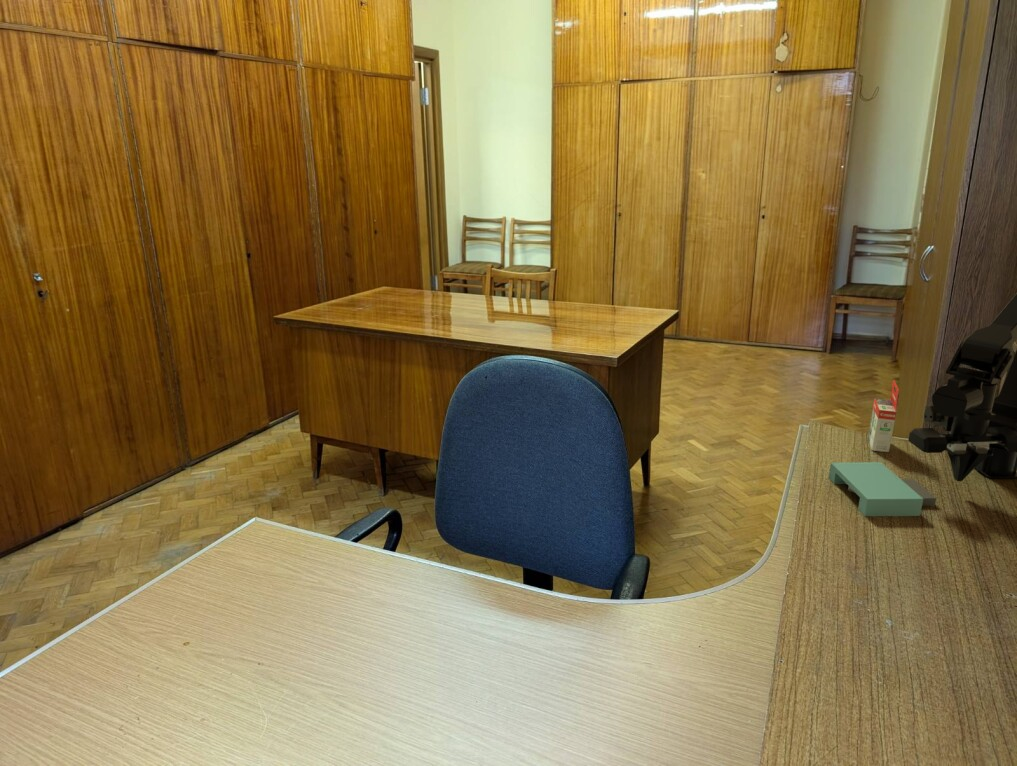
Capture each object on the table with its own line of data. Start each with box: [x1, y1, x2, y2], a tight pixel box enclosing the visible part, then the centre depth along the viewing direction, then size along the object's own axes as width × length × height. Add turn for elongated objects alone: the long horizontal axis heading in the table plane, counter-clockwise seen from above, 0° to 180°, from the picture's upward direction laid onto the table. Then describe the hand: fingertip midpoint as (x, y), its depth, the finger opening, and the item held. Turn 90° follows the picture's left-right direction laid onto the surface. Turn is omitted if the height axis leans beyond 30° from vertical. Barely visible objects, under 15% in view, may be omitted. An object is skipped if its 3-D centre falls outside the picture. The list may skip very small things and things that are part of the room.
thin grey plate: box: [900, 478, 937, 506], centre depth 132 cm, size 11×8×2 cm
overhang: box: [828, 461, 923, 517], centre depth 131 cm, size 10×15×4 cm, turn 179°
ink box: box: [867, 379, 901, 453], centre depth 152 cm, size 4×8×15 cm, turn 160°
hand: (957, 480), depth 132 cm, fingers closed
